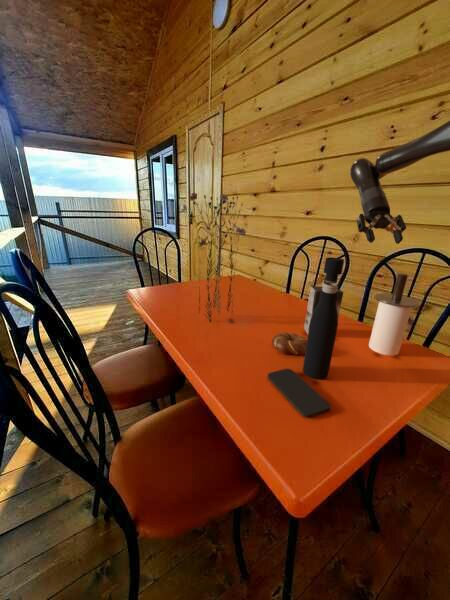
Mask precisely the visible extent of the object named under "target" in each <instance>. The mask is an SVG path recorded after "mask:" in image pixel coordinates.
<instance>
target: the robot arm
mask: <svg viewBox="0 0 450 600" xmlns="http://www.w3.org/2000/svg"><path fill="white" fill-rule="evenodd" d="M446 152H450V120H448V121H446V122H445V123H443V124H442V125H441V124H440V126H438V127H436V128H435V129H432V130H431V131H429V132H427V133H426V134H423V135H421V136H419V137H418V138H414V139H412V140H410V141H408V142H405V143H404V144H401V145H399V146H396V147H394V148H392V149H389V150H387V151H385V152H382V153H381V154H380V155H378V156H377V158H376V160H375V163H373V162H372V161H371V160H369V159H368V158H365V157H361V158H358V159H356V160H355V161H353V163H352V164H351V167H350V168H349V169H350V170H349V175H350V176H349V177H350V179H351V180H352V182H353V184H354V186H355V188H356V189H357V190H358V195H359V198H360V205H361V209H362V212H363V213H359V214H358V216H357V218H356V225H357V231H358V233H364V235H365V237H366V240H367V242H368V243H370V244H373V242H374V241H375V240H376V237H375V232H374V230H373V229H375V230H378V229H379V230H380V229H381V230H384V231H386V232H390V233H391V234H392V237H393V240H394V243H395V244H398V245H399V244H401V242H402V241H403V240H404V237H403V232H404V231H406V230H407V225H406V223H405V221H404V219H403V217H402V215H401V214H398V215H396V216H393V215H392V214H391V207H390V204H389V201H388V199H387V195H386V193H385V191H384V189H383V185H382V183H381V181H380V179H382V178H384V177H386V176H387V175H389V174H391V173H395V172H398V171H400V170H403V169H405V168H408V167H410V166H412V165H414V164H416V163H418V162H419V161H422V160H424V159H426V158H428V157H431V156H434V155H437V154H442V153H446ZM366 223H367V224H368V226H367V225H366Z"/></svg>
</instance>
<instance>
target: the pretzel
mask: <svg viewBox="0 0 450 600" xmlns="http://www.w3.org/2000/svg"><path fill="white" fill-rule="evenodd" d="M271 345H272V347H273V348H275V349H276V350H277V351H278V352H279V353H280V354H283V355H294V356H297V355H299V356H302V355H305V351H306V345H307V339H306V337H304V336H303V335H300V336H299V334H297V333H295V332H293V333H292V332H291V333H289V332H280V333H277V334H275V335H274V336H273V337H272V339H271Z"/></svg>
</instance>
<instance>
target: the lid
mask: <svg viewBox="0 0 450 600" xmlns="http://www.w3.org/2000/svg"><path fill="white" fill-rule="evenodd" d="M408 277H409V274H407V273H401V272H400V273H397V275H396V280H395V284H394V288H393V292H392V293H386V292H385V293H384V292H383V293H382V292H381V293H376V294H375V295H374V299H375V300H376V301H378V302H379V301H380V302H382V303H385V304H389V305H393V306H398V307H408V308H411V307H412V308H418V307H419V306H420V302H419V301H418V300H417V299H415V298H413V297H409V296H407V295H404V293H405V288H406V284H407V282H408Z"/></svg>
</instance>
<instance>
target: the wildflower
mask: <svg viewBox="0 0 450 600" xmlns="http://www.w3.org/2000/svg"><path fill="white" fill-rule="evenodd" d="M190 194H191V195H189V199H190V202H192V205H194V206H195V208H196V210H197V211H198V212H199V214H200V215H198V216H199V217H200V218H201V219H202V220H203V222H204V226H205V230H206V231H207V232H208V234H209V235H210V240H209V238H208V236H206V239H203V237H202V238H201V236H200V235H198V246H197V247H198V249H202V250H204V249H205V245H207V244H206V243H207V242H208V243H209V244H210V248H208V250H209V254H208V257H206V258H207V259H206V261H205V262H206V266H207V267H206V280H207V284H209V282H210V279H211V277H212V276H213V275H214V274H215V275H216V276H215V277H216V278H215V280H214V282H215V285H214V286H215V287H214V292H213V294H212V296H213V297H214V298H212V301H213V302H211V298H210V296H211V293H210V291H209V290H210V287H212V286H213V283H211V285H210V286H209V285H206V290H207V300H205V302H206V304H204V306H205V308H206V309H204V311H205V312H206V314H205V313H203V315H204V316H205V317H206V318H207V319H208V321H209V323H211V322H212V318H213V317H212V314H213V313H212V312H213V310H215V308H216V309H217V312H218V315H220V314H221V306H220V305H221V304H222V303H221V301H220V300H221V295H220V287H221V285H220V286H219V285H218V284H219V283H220V282H221V280H222V278H220V280H219V279H218V278H219V277H220V274H221V271H222V270H223V269H225V267H222V266H223V265H224V263H223V264H222V262H223V260H224V257H223V253H222V247H223V246H225V240H226V238H227V236H228V235H229V240H230V241H232V240H233V243H232V242H231V244H230V251H228V253H229V254H228V255H227V257H228V259H229V260H230V261H233V260H234V257H232V254H233V244H238V242H239V240H240V237H238V236H245V235H246V230H245V229H244V228H241V227H240V226H239V227H238V226H237V219H239V216H240V213H241V210H236V208H235V206H236V202H234V201H235V197H234V196H232V201H230V200H229V197H228V196H229V195H225V194H220V196H219V197H218V196H216V201H217V202H216V206H213V202H212V200H213V196H210V198H209V199H210V202H208V205H207V202H206V201H207V200H206V198H207V196H206V194H204V195H203V198H204V205H205V210H203V209H202V208H203V207H201V208H200V207H199V203H198V202H196V201H197V199H198V193H197V192H192V193H190ZM219 199H220V202H218V200H219ZM238 199H239V196H238V195H237V196H236V200H238ZM224 204H226V206H224ZM243 205H244V202H241V206H240V208H242V206H243ZM208 208H209V209H210V210H211V214H212V215H211V216H209V212H210V210H209V209H208ZM231 208H232V209H231ZM230 209H231V212H230ZM207 210H208V211H207ZM203 211H204V212H205V217H206V218H207V219H208V220H207V222H206V221H205V220H204V216H203V215H202V213H203ZM221 211H223V212H225V215H223V212H221ZM232 212H234V214H232ZM237 212H238V214H237ZM235 214H237V217H236V216H235ZM227 215H228V216H229V217H230V218H228V219H227V220H228V222H227V220H226V218H227ZM218 218H220V219H218ZM231 218H233V219H235V218H236V220H235V222H231ZM210 219H211V220H212V221H214V220H215V221H214V224H213V225H212V227H211V226H210V225H211V223H212V221H210ZM217 219H218V221H217ZM221 220H222V221H221ZM220 221H221V222H223V223H222V224H219V222H220ZM227 223H228V224H229V227H228V224H227ZM232 225H233V226H232ZM216 227H217V229H218V230H216V233H215V236H216V239H217V243H219V242H220V245H215V248H216V250H217V252H218V253H217V254H216V258H217V261H216V260H214V257H212V246H213V245H214V244H213V243H215V244H216V241H215V238H213V237H214V231H212V230H213V229H214V228H216ZM224 227H225V228H226V231H223V228H224ZM235 228H236V229H235ZM232 232H235V237H233V236H231V234H232ZM217 233H219V234H220V236H219V235H217ZM200 239H201V240H200ZM223 239H224V240H223ZM237 253H238V247H236V250H235V252H234V255H235V258H237V257H236V256H237ZM213 260H214V261H213ZM215 262H216V268H215V267H214V264H215ZM227 263H228V265H229V267H230V275H229V273H228V272H227V276H228V277H229V279H230V282H233V281H235V276H236V266H234V265H237V261H236V260H234V264H233V262H229V261H228V262H227ZM199 264H202V258H199ZM212 267H213V268H212ZM221 267H222V268H221ZM233 267H234V269H233ZM233 270H234V271H233ZM213 271H214V272H213ZM212 272H213V273H212ZM198 273H199V276H201V274H202V272H201V270H200V267H198ZM211 273H212V274H211ZM198 280H199V283H200V282H201V277H198ZM198 288H199V289H198V290H199V291H198V313H201V307H200V306H201V287H198ZM228 289H229V290H228V292H227V303H228V305H227V306H225V309H226V310H227V312H230V305H231V313H232V315H234V301H232V299H233V296H234V291H235V287H232V284H231V283H229V288H228ZM232 289H233V290H232ZM212 307H213V310H212ZM207 315H208V316H207Z"/></svg>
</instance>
